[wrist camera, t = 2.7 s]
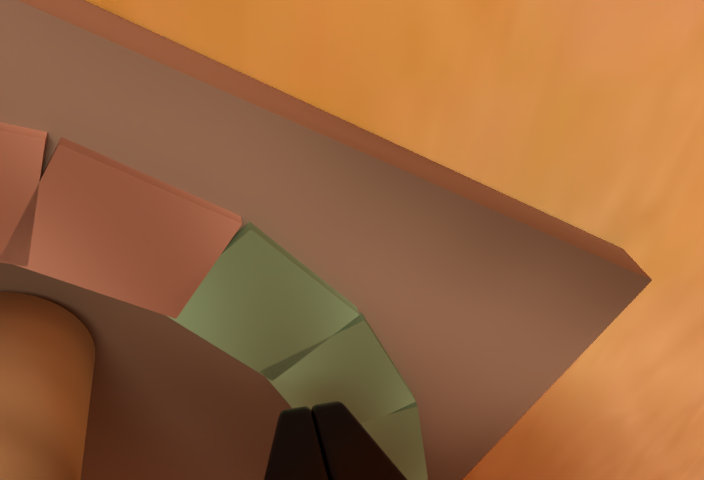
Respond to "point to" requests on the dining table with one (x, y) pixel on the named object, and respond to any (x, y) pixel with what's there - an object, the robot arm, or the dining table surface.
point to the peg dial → (42, 389)
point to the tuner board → (270, 261)
